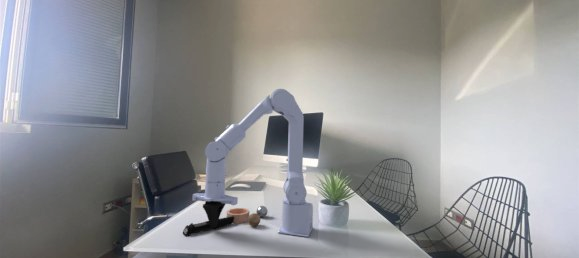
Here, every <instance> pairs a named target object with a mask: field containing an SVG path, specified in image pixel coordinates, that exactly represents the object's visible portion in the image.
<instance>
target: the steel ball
mask: <svg viewBox="0 0 579 258" xmlns="http://www.w3.org/2000/svg"><path fill="white" fill-rule="evenodd" d="M256 214H258V215H259V216H260V218H264V217H266V216H267V215H268V208H267V206H264V205H260V206H258V207H257V209H256Z"/></svg>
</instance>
